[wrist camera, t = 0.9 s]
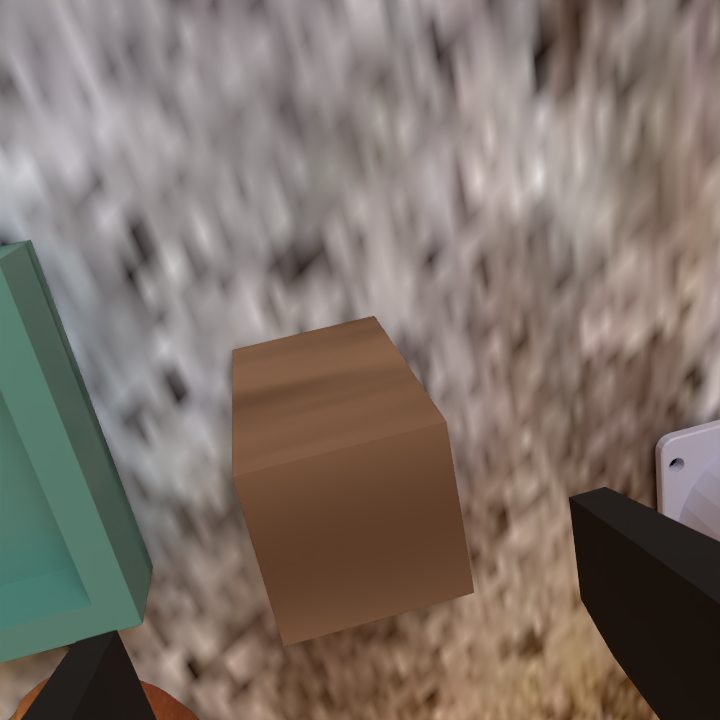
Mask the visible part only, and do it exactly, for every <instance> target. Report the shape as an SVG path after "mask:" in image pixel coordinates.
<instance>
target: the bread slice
mask: <svg viewBox="0 0 720 720" xmlns="http://www.w3.org/2000/svg"><path fill="white" fill-rule="evenodd" d="M48 680H49V678H48V679H46V680H44V681H43V682H41V683H40V684H39V685H38V686H36V687H35V688H34V689H33V690H32V691H31V692H29V693H28V694H27V695H26V696H25V697H24V698H23V699H22V701H21V703H20V705H19V707H18V709H17V710H16V712H15V714H14V715H13V716H12V717H11V718H10V719H9V720H21V718H22V717H23V715H24V714H25V713H26V711H27V710H28V708H29V707H30V705H31V704H32V703H33V701H34V700H35V698H36V697H37V695H38V694H39V693H40V691H41V690H42V688H43V687H44V685H45V684H46V683H47V681H48ZM139 681H140V683H141V685H142V687H143V690H144V692H145V694H146V696H147V699H148V701H149V703H150V705H151V708H152V710H153V712H154V714H155V717H156V719H157V720H199V719H198V718H197V717H196V716H195V715H194V714H193V713H192V711H191V710H189V709H188V708H187V707H185V706H184V705H183V704H181V703H180V702H178V701H177V700H176V699H175V698H173V697H172V696H171V695H169V694H168V693H166V692H165V691H163V690H161V689H160V688H158V687H156V686H154V685H151V684H148V683H146V682H143V681H141V680H139Z"/></svg>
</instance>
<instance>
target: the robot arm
mask: <svg viewBox="0 0 720 720" xmlns="http://www.w3.org/2000/svg"><path fill="white" fill-rule="evenodd" d="M655 454H656V480H657V506H658V512H657V511H655V510H653V509H651V508H649V507H647V506H645V505H643V504H641V503H639V502H637V501H634V500H632V499H630V498H628V497H626V496H624V495H622V494H620V493H618V492H616V491H613V490H611V489H609V488H607V487H603V488H599V489H596V490H593V491H589V492H586V493H582V494H579V495H575V496H572V497H569V502H570V510H571V519H572V527H573V536H574V544H575V553H576V561H577V570H578V579H579V587H580V596H581V600H582V602H583V603H584V605H585V607H586V609H587V611H588V613H589V614H590V616H591V618H592V620H593V622H594V623H595V625H596V627H597V629H598V631H599V632H600V634H601V636H602V637H603V639H604V641H605V642H606V644H607V646H608V648H609V649H610V651H611V653H612V654H613V656H614V658H615V659H616V660H617V662H618V663H619V664H620V666H621V667H622V669H623V670H624V671H625V673H626V674H627V676H628V677H629V678H630V680H631V681H632V682H633V684H634V685H635V686H636V688H637V689H638V691H639V692H640V693H641V695H642V696H643V697H644V699H645V700H646V701H647V703H648V704H649V706H650V707H651V708H652V710H653V711H654V712H655V714H656V715H657V716H658V718H659V719H660V720H720V420H717V421H713V422H709V423H706V424H702V425H698V426H694V427H691V428H687V429H683V430H679V431H676V432H672V433H669V434H667V435H664V436H663V437H662V438H661V439H660V440H659V441H658V443H657V445H656V450H655ZM676 458H677V460H676V462H675V463H674V465H672V466H670V467H669V465H670V463H671V462H672V460H674V459H676ZM21 720H157V719H156V717H155V714H154V712H153V710H152V708H151V705H150V703H149V701H148V699H147V696H146V694H145V692H144V690H143V687H142V685H141V683H140V681H139V678H138V676H137V674H136V672H135V669H134V667H133V665H132V663H131V660H130V658H129V656H128V654H127V651H126V649H125V647H124V645H123V642H122V640H121V638H120V636H119V634H118V631H117V630H113V631H110V632H106V633H103V634H100V635H96V636H93V637H89V638H86V639H82V640H79V641H76V642H75V644H74V645H73V646H72V648H71V649H70V650H69V652H68V653H67V654H66V656H65V657H64V658H63V660H62V661H61V663H60V664H59V665H58V667H57V668H56V670H55V671H54V673H53V674H52V675H51V677H50V678H49V680H48V681H47V683H46V684H45V685H44V687H43V688H42V690H41V691H40V693H39V694H38V695H37V697H36V698H35V700H34V701H33V703H32V704H31V705H30V707H29V708H28V710H27V711H26V713H25V714H24V715H23V717H22V718H21Z"/></svg>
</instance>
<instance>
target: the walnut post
mask: <svg viewBox="0 0 720 720" xmlns="http://www.w3.org/2000/svg"><path fill="white" fill-rule="evenodd" d="M232 478H233V481H234V485H235V488H236V491H237V494H238V498H239V501H240V504H241V508H242V511H243V514H244V517H245V521H246V524H247V527H248V531H249V534H250V537H251V540H252V544H253V547H254V550H255V554H256V557H257V560H258V563H259V567H260V570H261V573H262V577H263V580H264V583H265V586H266V590H267V593H268V596H269V600H270V603H271V606H272V609H273V613H274V616H275V619H276V623H277V626H278V629H279V632H280V636H281V639H282V642H283V646H288V645H291V644H295V643H298V642H302V641H305V640H309V639H312V638H316V637H320V636H323V635H327V634H330V633H334V632H337V631H341V630H344V629H348V628H351V627H355V626H358V625H362V624H365V623H369V622H373V621H376V620H380V619H383V618H387V617H390V616H394V615H397V614H401V613H404V612H408V611H411V610H415V609H419V608H422V607H426V606H429V605H433V604H436V603H440V602H443V601H447V600H450V599H454V598H457V597H461V596H465V595H468V594H472V593H474V588H473V581H472V575H471V569H470V563H469V557H468V551H467V545H466V539H465V533H464V527H463V521H462V515H461V508H460V502H459V496H458V490H457V484H456V478H455V472H454V466H453V460H452V454H451V448H450V442H449V436H448V429H447V423H446V420H445V419H444V417H443V416H442V415H441V413H440V412H439V410H438V409H437V407H436V406H435V404H434V403H433V401H432V400H431V398H430V397H429V395H428V394H427V393H426V391H425V390H424V388H423V387H422V385H421V384H420V382H419V381H418V379H417V378H416V376H415V375H414V373H413V372H412V371H411V369H410V368H409V366H408V365H407V363H406V362H405V360H404V359H403V357H402V356H401V354H400V353H399V351H398V350H397V349H396V347H395V346H394V344H393V343H392V341H391V340H390V338H389V337H388V335H387V334H386V332H385V331H384V330H383V328H382V327H381V325H380V324H379V322H378V321H377V319H376V318H375V316H372V317H367V318H363V319H359V320H355V321H351V322H347V323H342V324H338V325H334V326H330V327H326V328H322V329H318V330H313V331H309V332H305V333H301V334H297V335H293V336H288V337H284V338H280V339H276V340H272V341H268V342H264V343H259V344H255V345H251V346H247V347H243V348H239V349H235V350H233V386H232Z"/></svg>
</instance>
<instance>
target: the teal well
mask: <svg viewBox="0 0 720 720" xmlns="http://www.w3.org/2000/svg"><path fill="white" fill-rule="evenodd" d="M152 568H153V566H152V563H151V560H150V558H149V555H148V552H147V550H146V547H145V544H144V542H143V539H142V536H141V534H140V531H139V528H138V526H137V523H136V520H135V518H134V515H133V512H132V510H131V507H130V504H129V502H128V499H127V496H126V494H125V491H124V488H123V486H122V483H121V480H120V478H119V475H118V472H117V470H116V467H115V464H114V462H113V459H112V456H111V454H110V451H109V448H108V446H107V443H106V440H105V438H104V435H103V432H102V430H101V427H100V424H99V422H98V419H97V416H96V414H95V411H94V408H93V406H92V403H91V400H90V398H89V395H88V392H87V390H86V387H85V384H84V381H83V379H82V376H81V373H80V371H79V368H78V365H77V363H76V360H75V357H74V355H73V352H72V349H71V347H70V344H69V341H68V339H67V336H66V333H65V331H64V328H63V325H62V323H61V320H60V317H59V315H58V312H57V309H56V307H55V304H54V301H53V299H52V296H51V293H50V291H49V288H48V285H47V283H46V280H45V277H44V275H43V272H42V269H41V267H40V264H39V261H38V259H37V256H36V253H35V251H34V248H33V245H32V243H31V240H28V241H23V242H18V243H14V244H9V245H5V246H0V663H3V662H6V661H10V660H14V659H17V658H21V657H25V656H28V655H32V654H36V653H39V652H43V651H47V650H50V649H54V648H58V647H61V646H65V645H68V644H72V643H75V642H76V641H79V640H82V639H86V638H89V637H93V636H96V635H100V634H103V633H106V632H110V631H113V630H117V631H120V630H123V629H127V628H131V627H134V626H138V625H141V624H142V623H143V618H144V612H145V607H146V601H147V595H148V590H149V584H150V579H151V573H152Z"/></svg>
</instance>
